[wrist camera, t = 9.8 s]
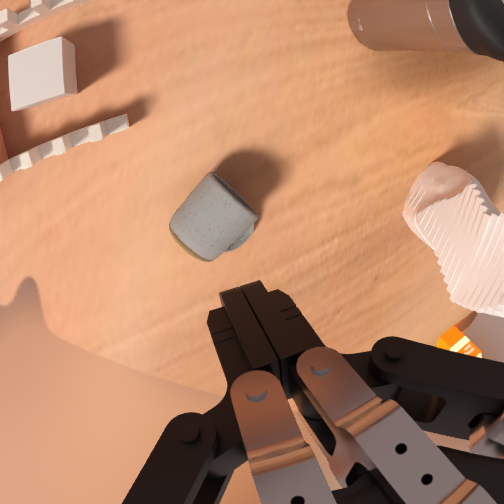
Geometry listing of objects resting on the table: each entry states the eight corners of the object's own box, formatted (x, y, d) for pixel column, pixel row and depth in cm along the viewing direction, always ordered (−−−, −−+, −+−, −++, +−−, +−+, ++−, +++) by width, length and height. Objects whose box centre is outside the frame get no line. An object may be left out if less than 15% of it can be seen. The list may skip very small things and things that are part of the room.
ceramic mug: (161, 216, 36) (167, 245, 30) (204, 164, 35) (220, 182, 29) (223, 257, 42) (240, 290, 36) (263, 212, 41) (288, 238, 35)
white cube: (28, 60, 21) (7, 55, 16) (75, 45, 23) (61, 35, 18) (31, 108, 24) (11, 111, 19) (78, 94, 26) (64, 93, 21)
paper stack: (427, 133, 43) (556, 185, 22) (469, 208, 57) (554, 261, 36) (363, 229, 48) (481, 325, 27) (422, 280, 62) (499, 349, 41)
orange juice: (454, 325, 84) (491, 361, 67) (448, 340, 89) (482, 375, 72) (439, 336, 83) (477, 375, 66) (434, 352, 87) (468, 389, 71)
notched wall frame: (108, -14, 20) (102, -31, 16) (129, 126, 30) (126, 131, 25) (-26, 46, 16) (-48, 42, 12) (-2, 178, 26) (-21, 191, 21)
